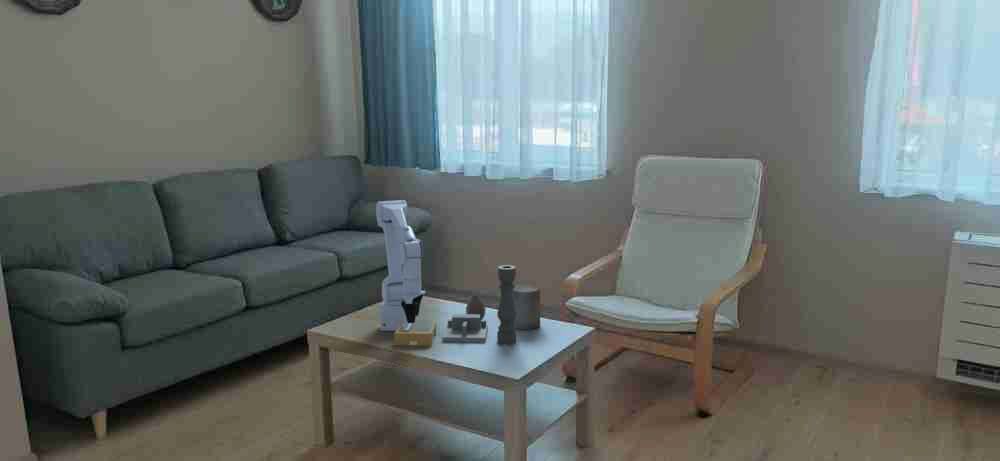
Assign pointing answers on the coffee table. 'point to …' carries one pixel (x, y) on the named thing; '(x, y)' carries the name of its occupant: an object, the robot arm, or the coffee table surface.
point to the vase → (476, 307)
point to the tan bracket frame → (414, 336)
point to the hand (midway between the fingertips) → (413, 319)
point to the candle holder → (506, 305)
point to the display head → (465, 329)
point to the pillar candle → (527, 306)
